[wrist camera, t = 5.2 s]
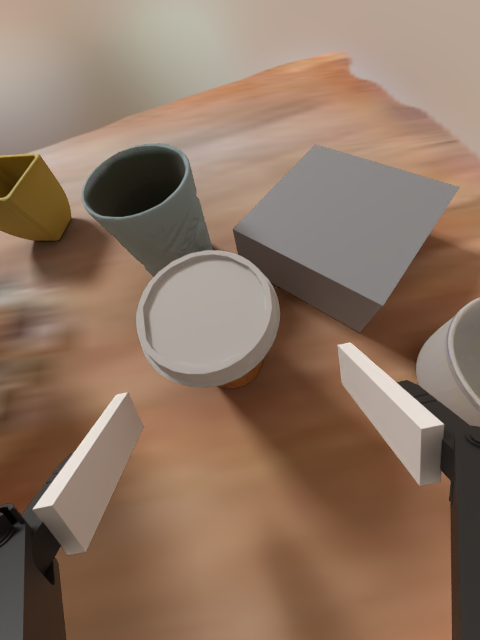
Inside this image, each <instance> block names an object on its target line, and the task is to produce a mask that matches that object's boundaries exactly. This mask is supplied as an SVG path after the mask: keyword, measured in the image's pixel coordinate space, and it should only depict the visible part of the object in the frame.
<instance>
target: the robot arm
mask: <svg viewBox="0 0 480 640" xmlns="http://www.w3.org/2000/svg"><path fill="white" fill-rule="evenodd" d="M338 354H339V363H340V373H341V382H342V385H343V386H344V387H345V389H346V390H347V391H348V392H349V394H350V395H351V396H352V398H353V399H354V400H355V402H356V403H357V404H358V406H359V407H360V408H361V410H362V411H363V412H364V413H365V415H366V416H367V417H368V419H369V420H370V421H371V423H372V424H373V425H374V427H375V428H376V429H377V431H378V432H379V433H380V434H381V436H382V437H383V438H384V440H385V441H386V442H387V444H388V445H389V446H390V448H391V449H392V450H393V452H394V453H395V454H396V456H397V457H398V458H399V459H400V461H401V462H402V463H403V465H404V466H405V467H406V469H407V470H408V471H409V473H410V474H411V475H412V477H413V478H414V479H415V480H416V482H417V483H418V484H419V486H423V485H428V484H433V483H438V482H441V471H442V472H443V473H444V474H445V475H446V476H447V477H448V478H449V479H450V480H451V484H450V496H449V501H451V585H452V640H480V427H479V426H471V425H469V424H468V423H466V422H465V421H464V420H463V419H461V418H460V417H459V416H458V415H456V414H455V413H454V412H452V411H451V410H450V409H449V408H447V407H446V406H445V405H443V404H442V403H441V402H440V401H437V399H436V398H435V397H433V396H432V395H430V394H429V393H428V392H427V391H426V390H424V389H423V388H422V387H421V386H419V385H417V384H414V383H412V382H410V381H408V380H406V381H401V382H395V381H394V380H393V379H392V378H391V377H389V376H388V375H387V374H386V373H385V372H384V371H383V370H381V369H380V368H379V367H378V366H377V365H376V364H375V363H373V362H372V361H371V360H370V359H369V358H368V357H367V356H365V355H364V354H363V353H362V352H361V351H360V350H359V349H357V348H356V347H355V346H354V345H353V344H352V343H351V342H349V343H345V344H340V345H338ZM143 427H144V426H143V423H142V421H141V419H140V417H139V415H138V413H137V410H136V408H135V406H134V404H133V402H132V400H131V397H130V395H129V393H128V392H126V393H122V394H117V395H116V396H115V397H114V398H113V400H112V401H111V403H110V404H109V405H108V407H107V408H106V409H105V411H104V412H103V413H102V415H101V416H100V418H99V419H98V420H97V422H96V423H95V424H94V426H93V427H92V429H91V430H90V431H89V433H88V434H87V435H86V437H85V438H84V439H83V441H82V442H81V444H80V445H79V446H78V448H77V449H76V450H75V452H74V453H71V454H70V455H69V456H68V457H67V458H66V459H65V460H64V461H62V462H61V463H60V465H59V466H58V467H57V469H56V470H55V471H54V473H53V475H52V476H51V477H50V478H49V479H48V481H47V482H46V485H44V486H43V487H42V488H41V490H40V491H39V492H38V494H37V495H36V496H35V498H34V499H33V500H32V502H31V503H30V504H29V506H28V507H27V508H26V510H25V511H24V512H23V514H22V515H21V514H20V513H19V512H18V510H17V509H16V508H15V507H14V505H13V504H10V503H7V504H3V505H0V640H66V632H65V622H64V613H63V603H62V593H61V583H60V574H59V564H58V561H57V559H56V558H55V555H56V554H57V552H58V550H59V548H60V546H61V547H62V549H63V550H64V551H65V553H66V554H67V555H73V554H78V553H83V552H86V551H87V549H88V546H89V544H90V542H91V540H92V538H93V536H94V533H95V531H96V529H97V527H98V525H99V523H100V520H101V518H102V516H103V514H104V512H105V510H106V507H107V505H108V503H109V501H110V499H111V497H112V494H113V492H114V490H115V488H116V486H117V484H118V481H119V479H120V477H121V475H122V473H123V471H124V469H125V466H126V464H127V462H128V460H129V458H130V456H131V453H132V451H133V449H134V447H135V445H136V443H137V440H138V438H139V436H140V434H141V432H142V430H143Z"/></svg>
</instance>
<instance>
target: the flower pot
mask: <svg viewBox="0 0 480 640" xmlns="http://www.w3.org/2000/svg"><path fill="white" fill-rule="evenodd" d="M70 219H71V210H70V205H69V202H68V199H67V197H66V194H65V192H64V190H63V189H62V187H61V185H60V184H59V182H58V181H57V179H56V178H55V176H54V175H53V173H52V172H51V171H50V169H49V168H48V166H47V165H46V163H45V162H44V160H43V159H42V157H41V156H40V155H39V154H19V155H5V156H0V230H1V231H3V232H5V233H8V234H10V235H13V236H17V237H20V238H24V239H28V240H33V241H42V240H45V241H57V240H59V239H60V238H61V236H62V234H63V232H64V230H65V229H66V227H67V225H68V223H69V221H70Z"/></svg>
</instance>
